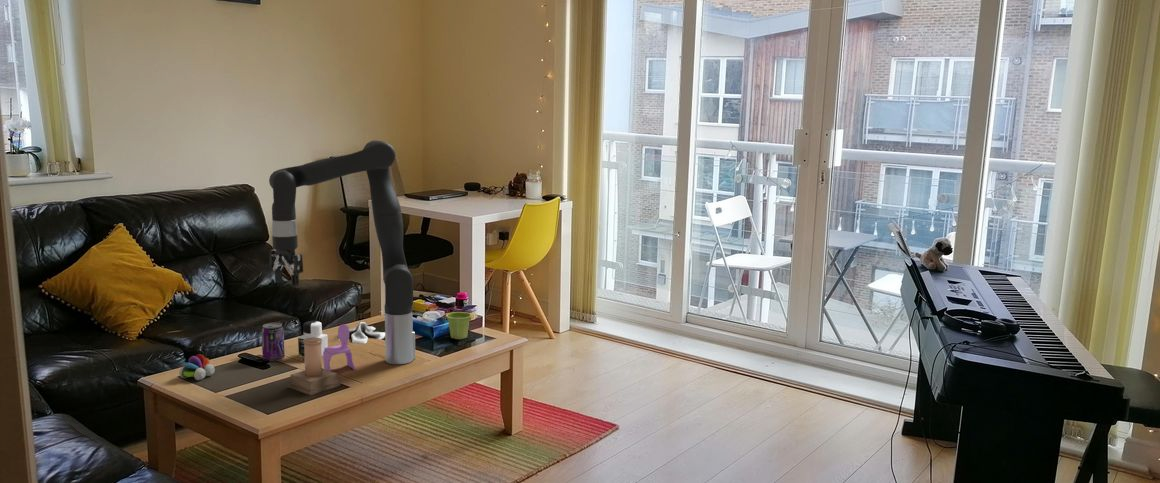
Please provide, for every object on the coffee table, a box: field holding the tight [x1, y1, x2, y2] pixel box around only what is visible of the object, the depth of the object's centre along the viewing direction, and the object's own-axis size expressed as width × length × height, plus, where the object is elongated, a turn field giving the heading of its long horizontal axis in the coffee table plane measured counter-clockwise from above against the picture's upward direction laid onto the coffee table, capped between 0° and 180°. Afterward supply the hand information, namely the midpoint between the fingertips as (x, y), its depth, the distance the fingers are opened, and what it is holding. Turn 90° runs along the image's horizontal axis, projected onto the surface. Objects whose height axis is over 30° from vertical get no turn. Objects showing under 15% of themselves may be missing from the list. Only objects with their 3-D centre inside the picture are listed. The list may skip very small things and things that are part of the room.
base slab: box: [287, 368, 342, 396], centre depth 267 cm, size 11×11×4 cm
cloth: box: [337, 321, 385, 345], centre depth 321 cm, size 22×19×6 cm
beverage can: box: [261, 322, 286, 362], centre depth 292 cm, size 7×7×12 cm
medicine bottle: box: [297, 320, 329, 359], centre depth 297 cm, size 7×7×12 cm
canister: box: [304, 337, 323, 377], centre depth 266 cm, size 5×5×11 cm
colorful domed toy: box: [178, 354, 216, 381], centre depth 274 cm, size 8×10×7 cm
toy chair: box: [322, 323, 356, 371], centre depth 282 cm, size 8×9×15 cm
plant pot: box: [445, 311, 472, 340], centre depth 322 cm, size 9×9×9 cm
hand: (286, 284), depth 273 cm, fingers open, 8 cm apart
